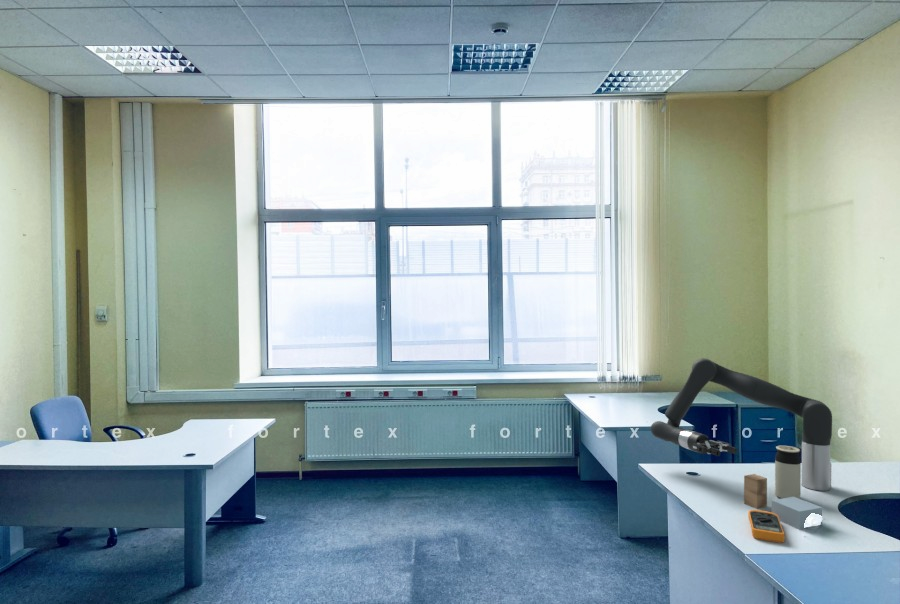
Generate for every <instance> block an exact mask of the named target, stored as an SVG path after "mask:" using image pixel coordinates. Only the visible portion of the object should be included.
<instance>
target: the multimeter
mask: <svg viewBox="0 0 900 604" xmlns="http://www.w3.org/2000/svg"><path fill="white" fill-rule="evenodd" d="M747 517H748V521H749V524H750V528H751V535H752V537H753V539H756V540H762V541H767V542H773V543H780V544H783V543H784V542H785V538H786V537H785V535H786V533H785V532H784V529H783V527H782V524H781V523H782V522H781V521H780V520H779V516H778V515H776V514H774V513H772V511H771V512H770V511H767V510H766V511H765V510H759V509H751V510H748V515H747Z"/></svg>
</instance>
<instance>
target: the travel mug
mask: <svg viewBox="0 0 900 604" xmlns="http://www.w3.org/2000/svg"><path fill="white" fill-rule="evenodd" d="M775 448H776V451H777V452H776V454H775V456H774V460H775V461H774V465H775V466H774V495H775V496H776V497H778V498H779V499H782V498H789V497H796V498H799V499H801V486H802V457H801V456H800V455H799V454H800V452H801V449H800V448H798V447H795V446H791V445H777V446H775Z"/></svg>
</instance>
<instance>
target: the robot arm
mask: <svg viewBox="0 0 900 604" xmlns="http://www.w3.org/2000/svg"><path fill="white" fill-rule="evenodd" d="M709 382H711V383H714V384H717V385H720V386H722V387H725V388H727V389H729V390H731V391H732V392H734V393H736V394H738V395H740V396H741V397H743V398H746V399H747V400H748V399H749V400H751V401H753V402H755V403H758V404H761V405H765V406H768V407H773V408H778V409H781V410H784V411H787V412H790V413H792V414H794V415H797V416H798V417H801V418H802V421H803V422H802V434H801V486H803V487H804V488H807V489H809V490H815V491H822V492H823V491H824V492H825V491H830V490H831V488H832V462H831V440H832V435H833V434H832V433H833V431H832V430H833V413H832V411H831V409H830V407H828V406H827V405H826V404H825V403H824V402H822V401H820V400H817V399H813V398H810V397H806V396H802V395H799V394H796V393H793V392H791V391H788V390H786V389H785V388H783V387H780V386H778V385H776V384H773V383H771V382H769V381H766V380H763V379H761V378H759V377H756V376H753V375H749V374H745V373H742V372H739V371H734V370H732V369H729V368H727V367H724V366H723V365H720V364H718V363H716V362H714V361H713V360H711V359H710V358H703V357H702V358H698V359H696V360H695V361H694V362H693V364H692V366H691V372H690V374H689V376H688V378H687V381H686V382H685V383H684V385H683V387H682V388H681V389H680V391H679V392H678V393H677V394H676V395H675V397H674V398H673V400H672V401H671V402H670V404H669V405H668V407H667V409H666V410H665V413H664V416H665V417H666V419H668V420H667V422H665V421H662V420H657V421H654V422H653V423H652V424H651V425H650V431H651V434H652V436H654V437H655V438H658V439H660V440H663V441H664V442H671V443H673V444H674V445H677V446H680V447H682V448H684V449H687V450H690V451H693V452H696V453H698V454H703V455H706V454H707V455H714V456H716V457H720V456H721V453H722V452H727V453H730V454H734V455H736V454H738V448H737V447H734V446H732V443H728V442H725V441H722V440H716V441H715V440H712V439H710V438H709V437H708V435H706V434H704V433H701V432H697V431H693V430H690V429H689V430H688V429H685V428H683V427H682V428H681V427H680V426H681V421H682V420H683V418H684V417H685V416H686V414H687V412H688V411H689V410H690V408H691V407H692V404H694V401H695V399H696V398H697V396H698V395H699V393H700V392H701V391H702V390H703V388H704V387H705V386H706V385H708V383H709Z"/></svg>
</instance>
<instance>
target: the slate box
mask: <svg viewBox="0 0 900 604" xmlns="http://www.w3.org/2000/svg"><path fill="white" fill-rule="evenodd" d="M771 513H774V514H776V515H778V516H779V520H780V523H783V524H786V525H788V526H789V527H793V528H795V529H798V530H800V531H801V530H804V529H803V528H804V523H805V520H806V518H807V517H808V516H809V515H810V514H811V513H815V514H819V515H821V516H822V517H823V507H822V506H819V505H817V504H815V503H811V502H809V501H806V500H804V499H801V498H800V499H799V498H796V497H789V498H778V499H772V500H771ZM821 526H823V521H822V522H821Z"/></svg>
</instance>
